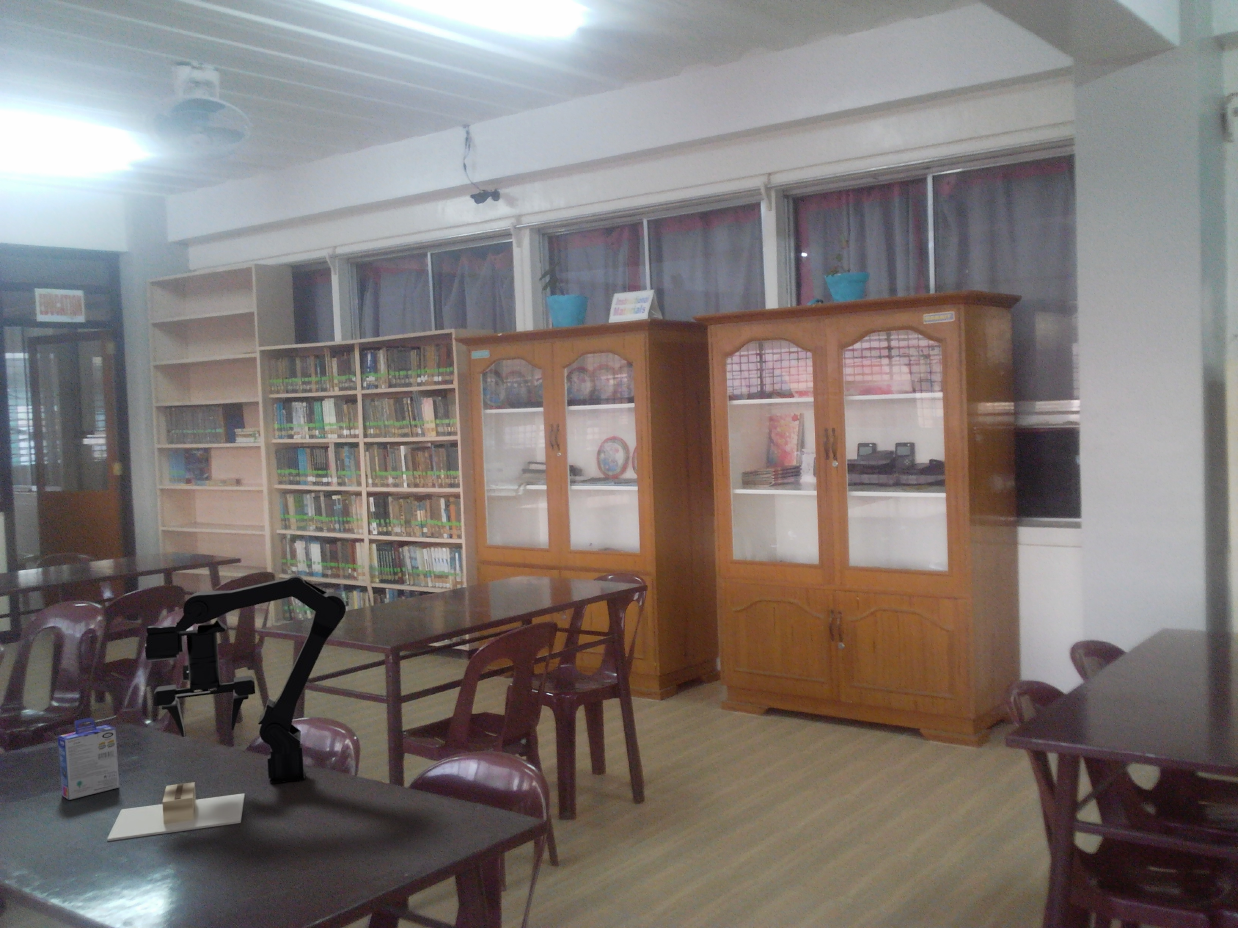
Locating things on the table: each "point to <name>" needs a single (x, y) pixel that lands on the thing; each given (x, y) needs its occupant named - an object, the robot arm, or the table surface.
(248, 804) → the table surface
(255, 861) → the table surface
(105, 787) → the ink cartridge box
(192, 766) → the table surface
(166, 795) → the grooved beige block
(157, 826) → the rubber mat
